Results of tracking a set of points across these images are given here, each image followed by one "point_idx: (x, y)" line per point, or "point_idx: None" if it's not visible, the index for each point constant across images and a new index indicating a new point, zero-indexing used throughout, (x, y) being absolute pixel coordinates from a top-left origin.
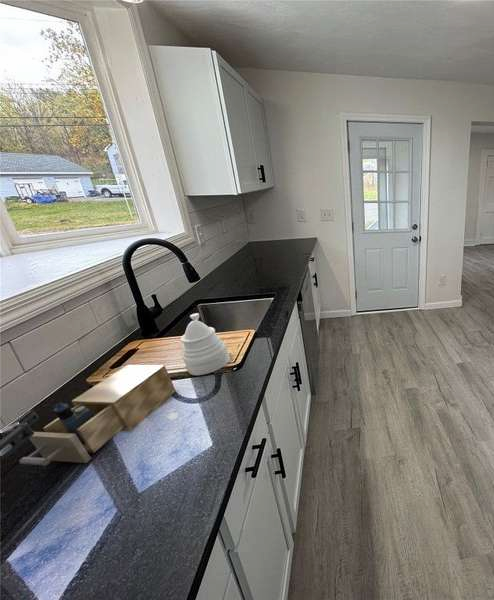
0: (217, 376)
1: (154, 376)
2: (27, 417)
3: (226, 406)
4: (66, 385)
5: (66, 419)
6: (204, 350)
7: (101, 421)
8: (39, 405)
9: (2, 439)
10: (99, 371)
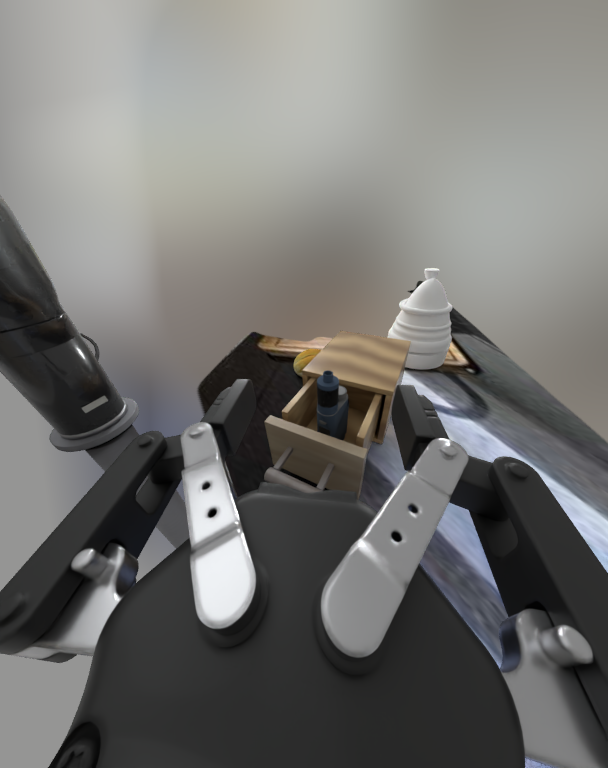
0: (451, 377)
1: (406, 356)
2: (428, 414)
3: (550, 444)
4: (239, 347)
5: (331, 408)
6: (440, 331)
7: (372, 424)
8: (220, 364)
9: (567, 599)
10: (267, 339)
